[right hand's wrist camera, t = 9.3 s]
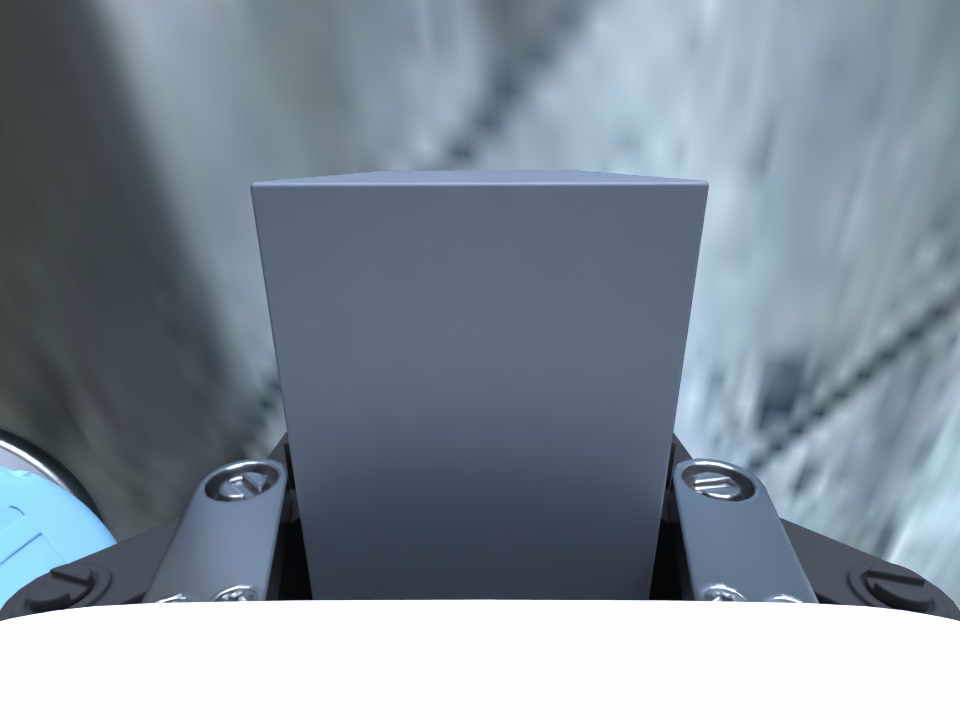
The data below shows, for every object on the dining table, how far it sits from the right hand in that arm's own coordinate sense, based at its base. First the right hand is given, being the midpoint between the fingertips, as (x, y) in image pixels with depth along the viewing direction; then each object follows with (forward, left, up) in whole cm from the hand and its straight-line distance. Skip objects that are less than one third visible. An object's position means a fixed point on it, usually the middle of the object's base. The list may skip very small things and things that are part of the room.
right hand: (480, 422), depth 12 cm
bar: (-3, +25, -2) cm, 25 cm away
